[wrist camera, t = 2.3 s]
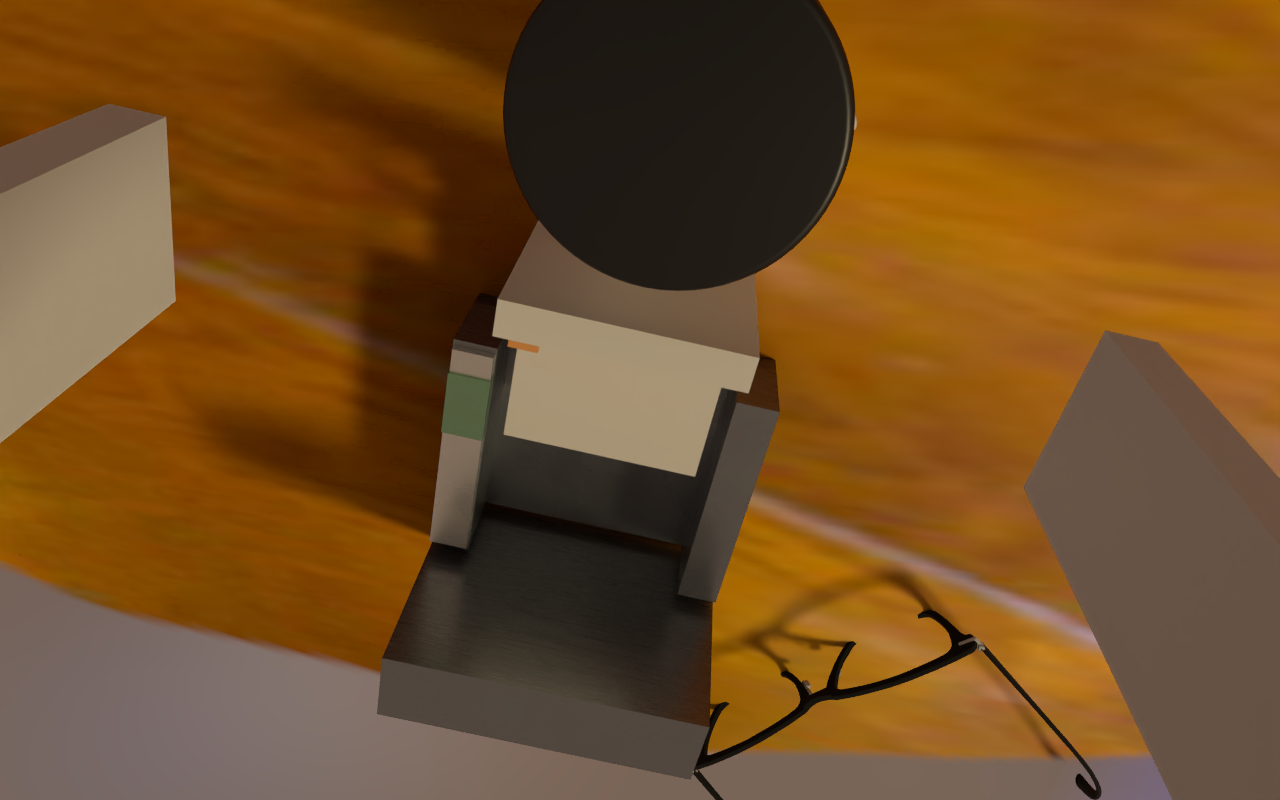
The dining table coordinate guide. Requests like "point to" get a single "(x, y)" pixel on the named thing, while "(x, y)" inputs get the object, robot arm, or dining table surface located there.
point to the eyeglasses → (959, 649)
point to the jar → (679, 132)
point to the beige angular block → (620, 358)
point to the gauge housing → (570, 577)
